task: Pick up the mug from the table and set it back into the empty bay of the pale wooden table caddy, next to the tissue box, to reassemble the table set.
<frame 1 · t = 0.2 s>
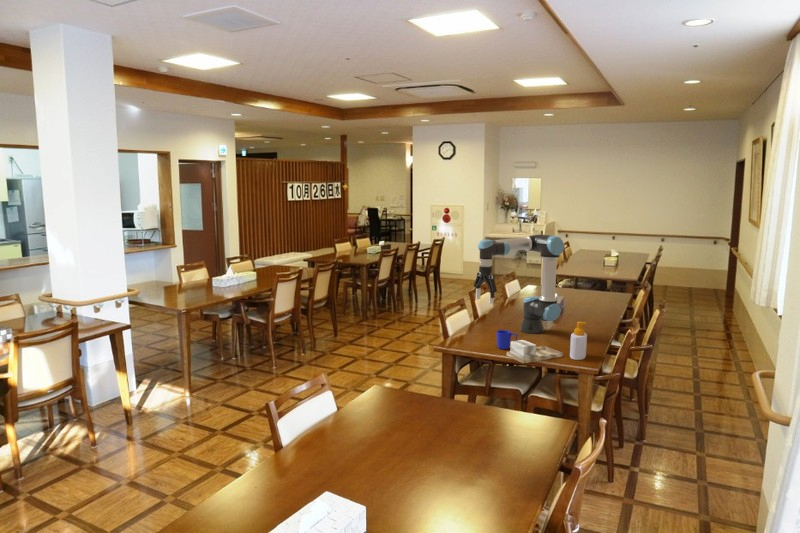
hand: (484, 301, 328), 27 cm above the table, fingers open, 13 cm apart
soap bottle: (577, 357, 310), on the table
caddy: (534, 356, 311), on the table
mug: (506, 348, 326), on the table
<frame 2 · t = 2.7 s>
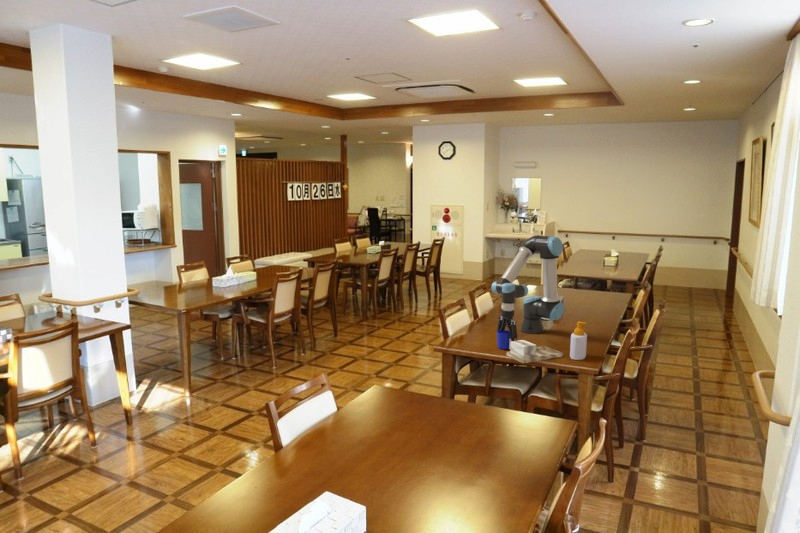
hand: (506, 346, 326), 1 cm above the table, fingers open, 9 cm apart
mug: (506, 348, 326), on the table, touching gripper
everything else where it was.
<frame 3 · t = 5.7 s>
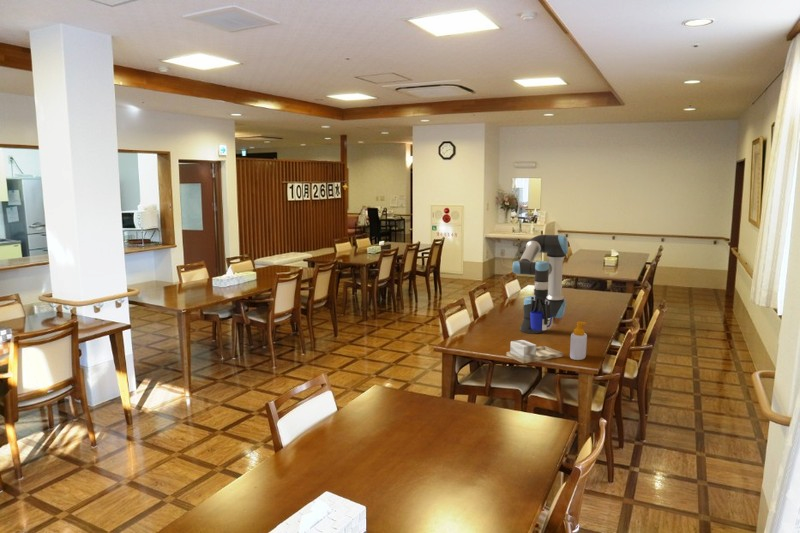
hand: (539, 328, 312), 15 cm above the table, fingers closed on mug, 8 cm apart
mug: (540, 330, 312), point 14 cm above the table, touching gripper
everything else where it was.
when the fingers open (3 cm above the table, at t = 8.6 s): mug drops 1 cm, resting on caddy.
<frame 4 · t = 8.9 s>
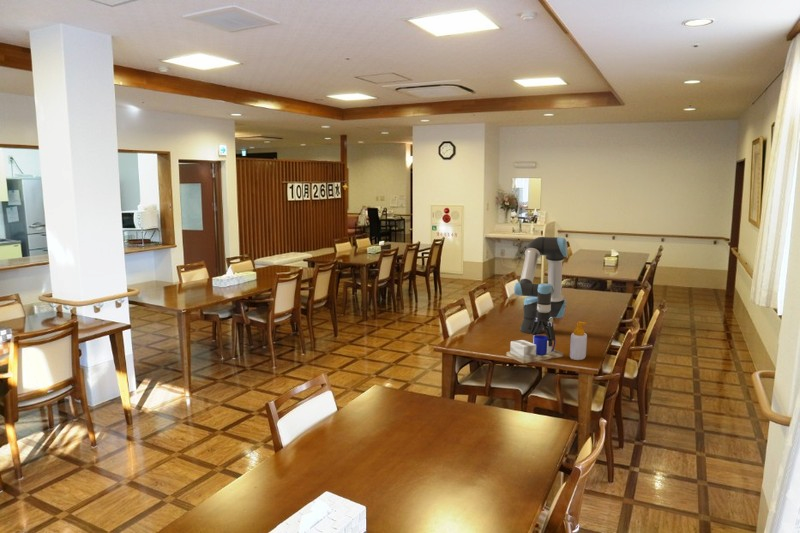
hand: (542, 348, 313), 4 cm above the table, fingers open, 11 cm apart
mug: (543, 354, 313), resting on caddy
everything else where it was.
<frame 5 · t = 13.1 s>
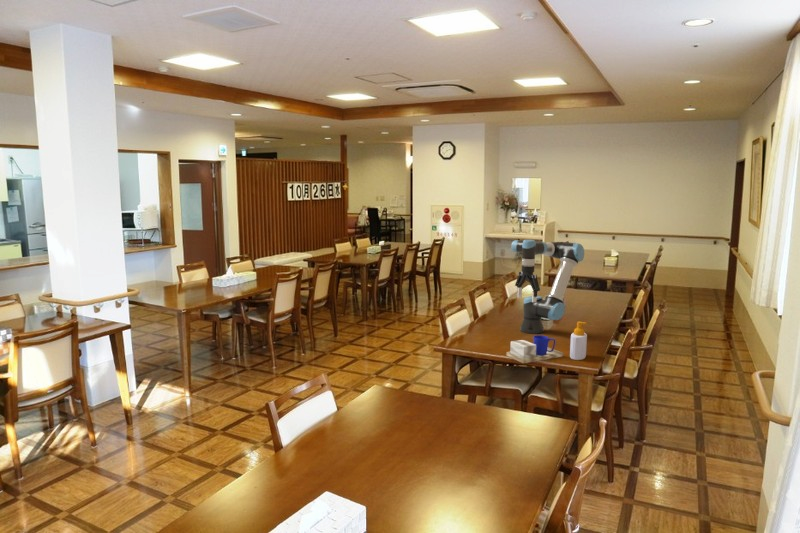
hand: (526, 300, 334), 27 cm above the table, fingers open, 13 cm apart
nothing on the table moved.
at the end: mug inside the target area on the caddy (1.3 cm from its centre), point 0.4 cm above the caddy's base; mug tilted 0°; the gripper is holding nothing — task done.
